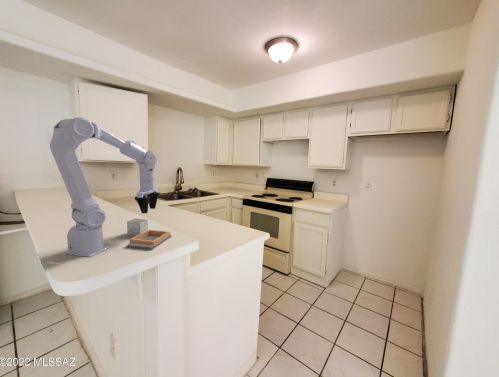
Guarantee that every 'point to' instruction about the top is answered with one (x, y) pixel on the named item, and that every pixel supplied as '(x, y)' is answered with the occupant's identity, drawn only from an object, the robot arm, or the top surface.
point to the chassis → (149, 239)
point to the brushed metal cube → (137, 226)
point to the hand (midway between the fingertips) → (148, 210)
